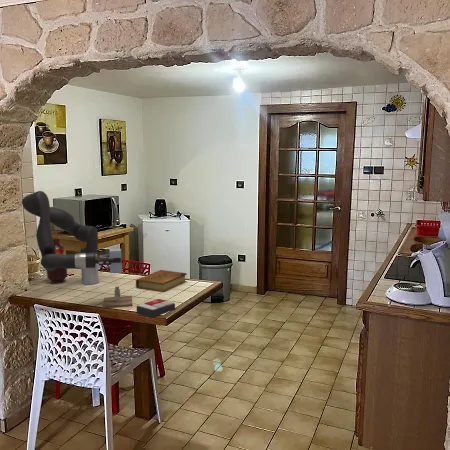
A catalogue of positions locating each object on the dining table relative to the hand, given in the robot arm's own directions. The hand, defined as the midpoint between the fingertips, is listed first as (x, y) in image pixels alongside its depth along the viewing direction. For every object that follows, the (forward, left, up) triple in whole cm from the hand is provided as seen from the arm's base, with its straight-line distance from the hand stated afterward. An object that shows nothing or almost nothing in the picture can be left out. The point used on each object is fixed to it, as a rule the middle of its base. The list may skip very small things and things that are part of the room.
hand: (120, 258), depth 228 cm
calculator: (+17, +15, -23) cm, 32 cm away
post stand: (0, -2, -22) cm, 23 cm away
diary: (-27, +22, -23) cm, 42 cm away
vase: (-49, -37, -23) cm, 66 cm away
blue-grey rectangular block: (0, -3, -6) cm, 7 cm away
